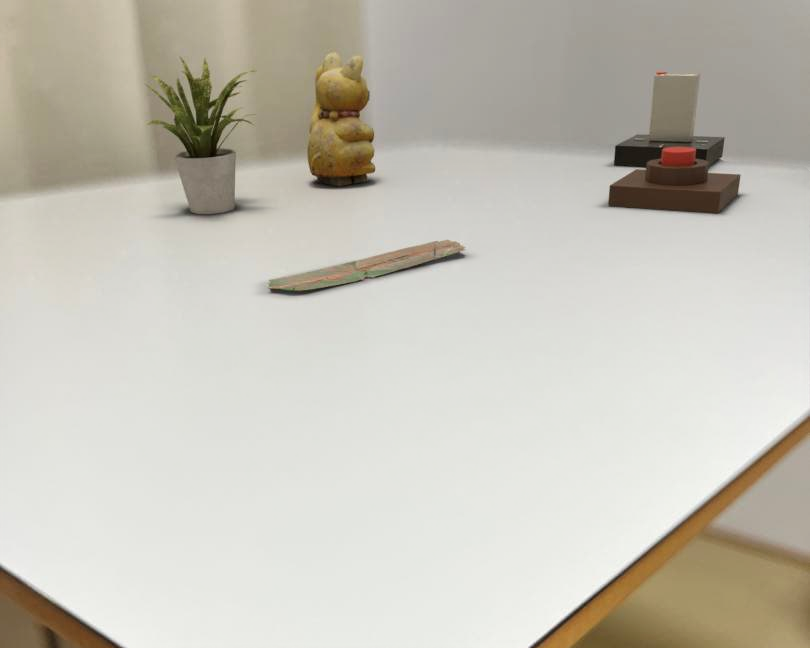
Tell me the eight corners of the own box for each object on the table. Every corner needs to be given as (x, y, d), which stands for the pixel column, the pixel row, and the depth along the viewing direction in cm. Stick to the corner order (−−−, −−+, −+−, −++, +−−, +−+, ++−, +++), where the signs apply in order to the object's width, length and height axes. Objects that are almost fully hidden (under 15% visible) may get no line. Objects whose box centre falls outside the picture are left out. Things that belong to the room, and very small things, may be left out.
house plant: (291, 215, 107) (275, 54, 98) (168, 230, 103) (141, 63, 94) (263, 193, 118) (247, 47, 110) (152, 205, 114) (126, 55, 106)
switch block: (737, 194, 107) (743, 157, 105) (717, 213, 99) (723, 173, 97) (634, 188, 112) (637, 152, 110) (608, 206, 104) (610, 168, 102)
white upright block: (692, 140, 125) (700, 71, 120) (689, 142, 123) (697, 72, 119) (651, 139, 127) (657, 71, 123) (648, 141, 126) (654, 72, 121)
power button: (697, 164, 104) (699, 147, 103) (689, 170, 102) (691, 152, 101) (665, 162, 106) (667, 146, 105) (656, 168, 103) (658, 151, 102)
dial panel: (722, 156, 128) (725, 135, 126) (704, 169, 120) (707, 147, 119) (635, 153, 133) (637, 132, 131) (613, 165, 125) (615, 144, 124)
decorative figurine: (388, 180, 122) (383, 51, 114) (344, 192, 117) (335, 57, 109) (336, 174, 128) (327, 50, 120) (291, 184, 123) (279, 55, 115)
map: (257, 291, 83) (255, 280, 82) (441, 239, 92) (440, 229, 92) (285, 304, 79) (283, 293, 79) (473, 249, 89) (473, 238, 88)
